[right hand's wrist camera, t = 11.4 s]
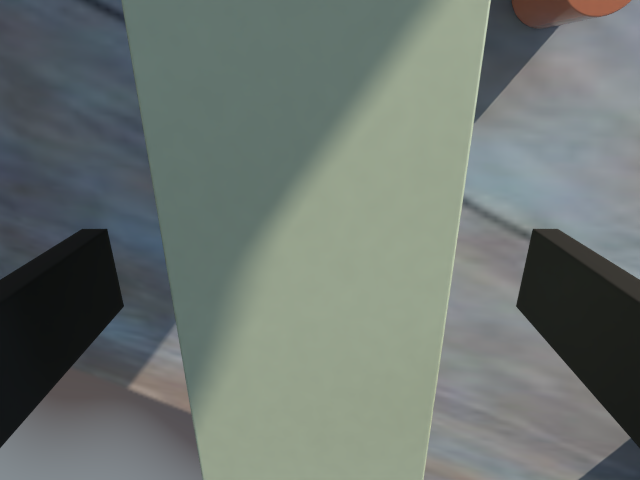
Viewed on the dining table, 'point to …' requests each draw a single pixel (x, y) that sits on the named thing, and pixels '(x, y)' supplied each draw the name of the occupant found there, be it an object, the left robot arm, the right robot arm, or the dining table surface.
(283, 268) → the beam
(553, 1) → the orange cylinder puck
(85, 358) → the dining table surface
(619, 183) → the dining table surface
